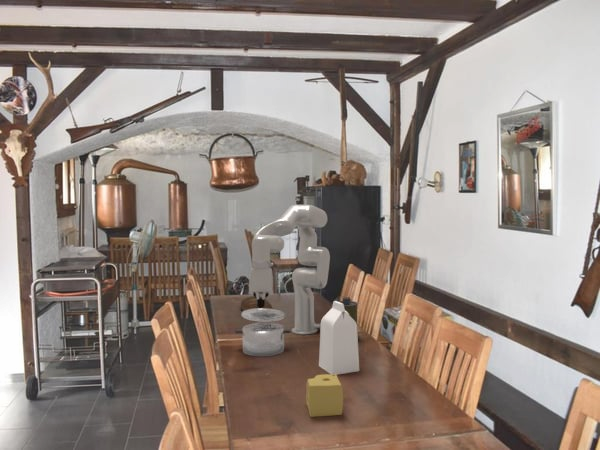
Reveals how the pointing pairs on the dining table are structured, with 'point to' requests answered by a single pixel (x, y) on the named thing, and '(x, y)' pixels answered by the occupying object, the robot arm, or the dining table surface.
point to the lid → (263, 314)
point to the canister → (350, 307)
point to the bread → (253, 303)
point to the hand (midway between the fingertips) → (261, 308)
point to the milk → (338, 341)
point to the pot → (263, 339)
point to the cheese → (324, 395)
